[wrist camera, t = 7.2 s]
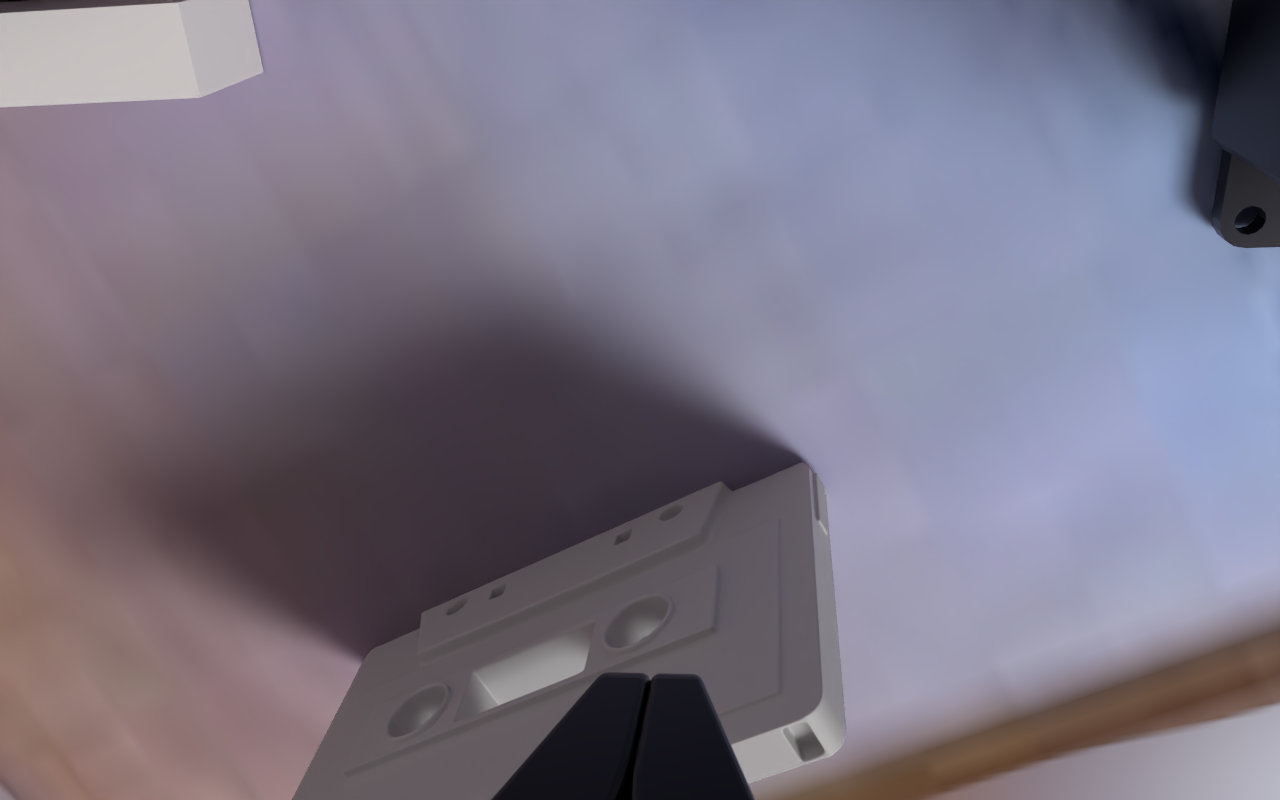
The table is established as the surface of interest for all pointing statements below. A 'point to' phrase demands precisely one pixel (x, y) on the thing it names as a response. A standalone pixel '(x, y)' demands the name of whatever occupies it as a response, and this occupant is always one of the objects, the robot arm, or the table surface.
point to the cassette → (609, 648)
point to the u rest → (123, 50)
